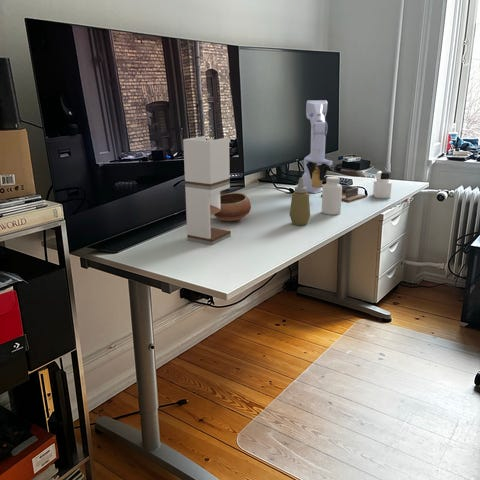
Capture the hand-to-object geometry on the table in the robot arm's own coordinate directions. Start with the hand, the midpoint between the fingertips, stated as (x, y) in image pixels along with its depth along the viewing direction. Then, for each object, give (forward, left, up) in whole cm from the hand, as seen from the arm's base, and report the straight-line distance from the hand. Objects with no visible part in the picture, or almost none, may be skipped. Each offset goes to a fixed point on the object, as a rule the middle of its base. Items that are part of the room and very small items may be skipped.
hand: (317, 179), depth 222 cm
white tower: (+7, -71, -10) cm, 72 cm away
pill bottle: (+17, -12, -10) cm, 23 cm away
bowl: (-5, -49, -10) cm, 50 cm away
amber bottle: (0, 0, -3) cm, 3 cm away
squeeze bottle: (+18, -34, -10) cm, 40 cm away
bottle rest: (+4, +16, -10) cm, 19 cm away
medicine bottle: (+16, +30, -10) cm, 36 cm away
